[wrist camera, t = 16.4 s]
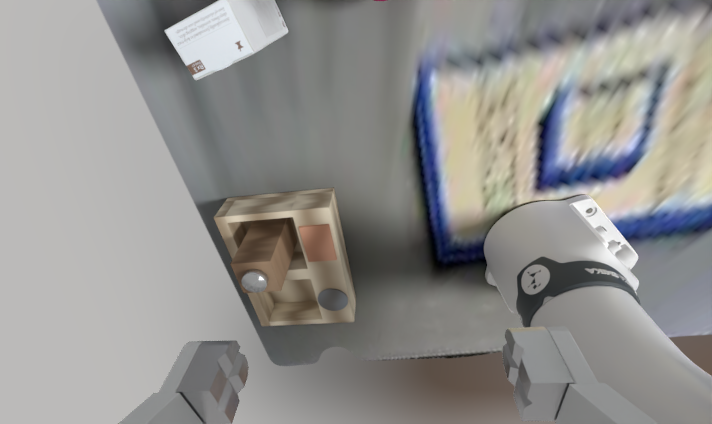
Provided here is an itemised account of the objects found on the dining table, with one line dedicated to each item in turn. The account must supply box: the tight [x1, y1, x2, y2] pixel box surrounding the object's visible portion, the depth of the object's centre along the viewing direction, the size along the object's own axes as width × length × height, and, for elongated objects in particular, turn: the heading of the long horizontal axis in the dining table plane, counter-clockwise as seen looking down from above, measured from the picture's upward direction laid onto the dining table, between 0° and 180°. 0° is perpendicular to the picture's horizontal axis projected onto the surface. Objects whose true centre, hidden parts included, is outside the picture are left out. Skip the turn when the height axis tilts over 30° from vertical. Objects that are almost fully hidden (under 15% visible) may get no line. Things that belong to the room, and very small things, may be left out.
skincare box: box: [164, 0, 288, 80], centre depth 31 cm, size 6×4×12 cm
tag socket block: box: [214, 188, 356, 326], centre depth 51 cm, size 16×22×5 cm
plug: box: [230, 217, 297, 293], centre depth 45 cm, size 5×5×11 cm
